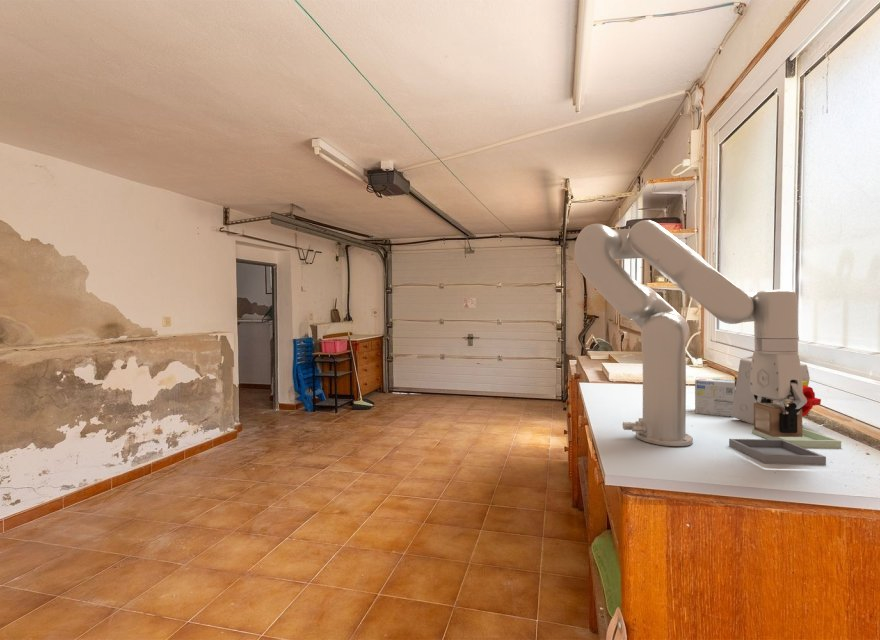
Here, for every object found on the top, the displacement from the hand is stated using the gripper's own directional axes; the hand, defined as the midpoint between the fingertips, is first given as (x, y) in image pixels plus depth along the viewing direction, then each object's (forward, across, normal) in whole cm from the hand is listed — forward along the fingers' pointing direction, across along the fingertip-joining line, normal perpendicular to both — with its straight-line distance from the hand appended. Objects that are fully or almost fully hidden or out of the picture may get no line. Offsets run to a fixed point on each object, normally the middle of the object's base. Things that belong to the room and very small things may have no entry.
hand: (777, 427), depth 94 cm
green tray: (+6, -12, +12) cm, 18 cm away
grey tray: (+6, 0, 0) cm, 6 cm away
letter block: (+1, 0, 0) cm, 1 cm away
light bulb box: (+6, -42, +10) cm, 43 cm away
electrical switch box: (+7, -28, +19) cm, 34 cm away
